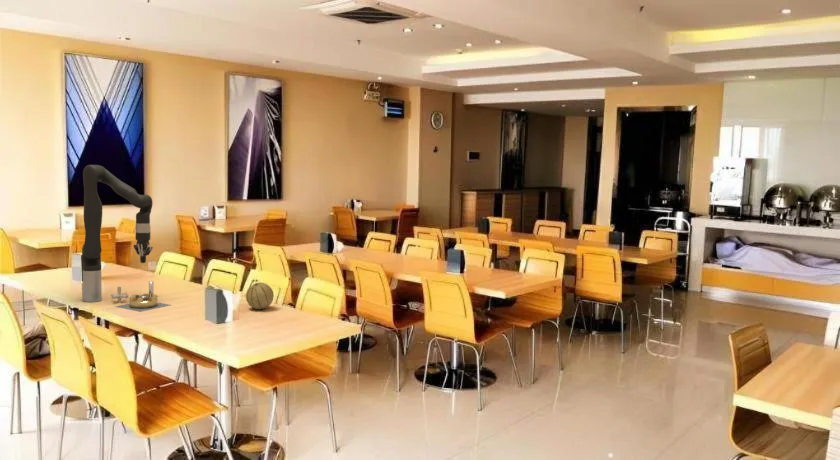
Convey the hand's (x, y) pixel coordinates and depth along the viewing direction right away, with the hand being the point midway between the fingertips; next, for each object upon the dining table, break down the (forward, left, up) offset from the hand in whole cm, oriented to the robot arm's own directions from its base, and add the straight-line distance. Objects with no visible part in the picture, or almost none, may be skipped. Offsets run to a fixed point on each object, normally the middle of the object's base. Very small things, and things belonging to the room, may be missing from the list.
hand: (143, 262), depth 357 cm
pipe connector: (-8, -9, -23) cm, 26 cm away
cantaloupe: (+57, +30, -23) cm, 68 cm away
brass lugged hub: (+9, -7, -22) cm, 24 cm away
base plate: (+9, -7, -23) cm, 26 cm away
